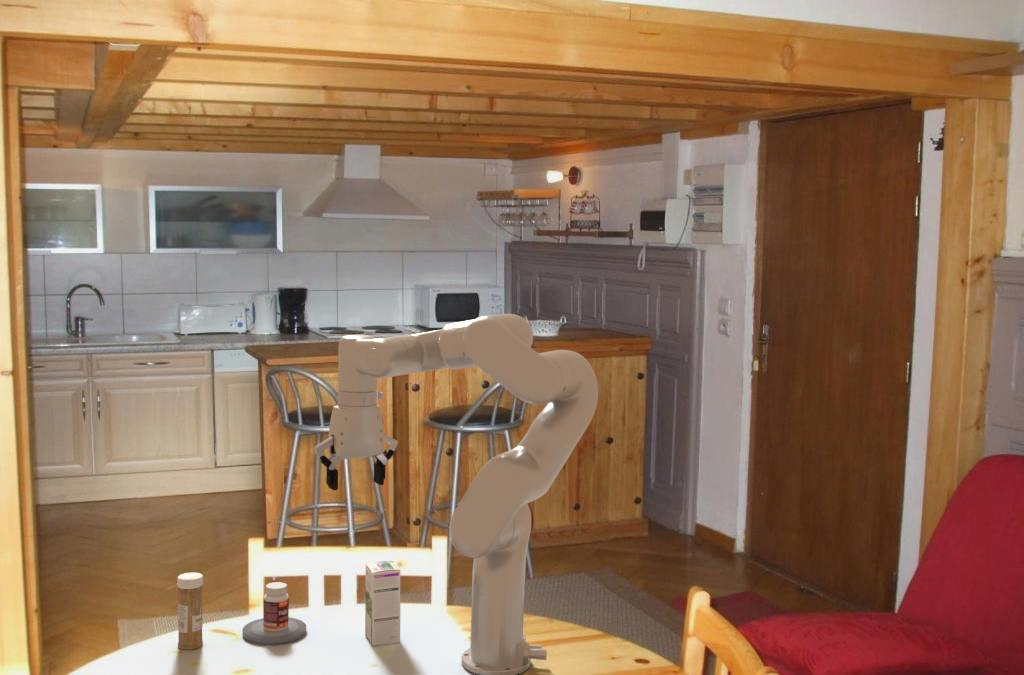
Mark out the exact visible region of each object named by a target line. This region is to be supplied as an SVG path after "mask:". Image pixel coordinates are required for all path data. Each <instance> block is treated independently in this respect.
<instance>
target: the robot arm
mask: <svg viewBox="0 0 1024 675" xmlns="http://www.w3.org/2000/svg"><path fill="white" fill-rule="evenodd" d="M533 341H534V333H533V329H532V327H531V325H530V323H529V322H528V321H527V320H526V319H525V318H524V317H522V316H521V315H518V314H514V313H499V314H490V315H487V314H486V315H483V316H480V317H479V316H478V317H476V318H474V319H467V320H462V321H456V322H451V323H448V324H445V325H444V326H443V327H442V328H441V329H437V330H431V331H427V332H419V333H415V334H407V335H396V336H387V337H378V338H376V337H374V336H373V335H367V334H348V335H343V336H342V337H341V338H340V339H339V342H338V356H337V357H338V359H337V360H338V365H337V367H338V368H337V370H338V371H337V405H333V407H332V411H331V415H330V422H329V429H328V437H327V438H326V439H325V440H322V441H321V442H319V443H318V444H316V445H315V446H313V452H314V454H315V455H316V457H317V460H318V461H319V462H320V463H321V464H322V465H323V466H324V467H325V468H326V481H325V482H326V485H327V487H328V489H331V490H332V491H337V490H338V489H339V470H338V469H336V468H337V467H338V465H339V464H340V463H341V461H342V460H352V459H361V458H363V459H364V458H372V457H373V458H374V459H375V461H374V463H373V482H374V483H376V484H377V485H379V486H383V485H384V482H385V480H386V465H388V463H389V461H390V459H391V458H393V456H394V454H395V451H396V449H397V448H398V444H399V441H398V440H396V439H394V438H393V437H390V436H389V435H386V434H384V424H383V416H382V411H381V406H380V405H379V403H378V402H379V400H380V399H383V398H384V392H383V391H379V389H378V379H388V378H393V377H394V378H395V377H399V376H404V375H411V374H418V373H423V372H428V371H429V372H430V371H435V370H441V369H443V370H444V369H451V370H463V369H467V368H475V367H477V368H479V369H480V370H481V371H483V372H484V373H485V374H486V375H488V376H489V377H490V378H491V379H492V380H494V381H495V382H496V383H498V384H499V385H500V386H502V387H503V388H504V389H506V390H507V391H509V392H510V394H511V395H513V396H514V397H516V398H518V399H519V400H521V401H523V402H524V403H527V404H531V405H534V406H535V405H536V406H537V405H545V404H546V405H545V407H544V408H542V410H541V411H540V413H538V415H537V416H536V417H535V419H534V420H533V421H532V423H531V425H530V426H529V428H528V430H527V432H526V433H525V434H524V436H523V438H522V439H521V441H519V443H518V444H517V445H516V447H513V448H512V449H510V450H508V451H505V452H502V453H500V454H496V455H495V456H494V457H492V458H490V459H488V460H487V462H486V463H485V464H483V466H481V468H480V469H479V471H478V472H477V474H476V475H475V477H474V479H473V480H472V482H471V483H470V485H469V487H468V488H467V490H466V491H465V493H464V495H463V496H462V498H461V499H460V501H459V503H458V505H457V506H456V508H455V510H454V511H453V514H452V516H451V518H450V522H449V528H448V529H449V530H448V531H449V538H450V542H451V543H452V545H453V547H454V548H455V550H456V551H457V552H459V554H461V555H462V556H465V557H467V558H473V562H472V563H473V565H472V578H471V579H472V582H471V612H470V613H471V615H470V616H471V618H470V647H469V648H468V649H467V650H465V651H464V652H463V653H462V655H461V665H462V667H464V668H465V669H466V670H467V671H469V672H471V673H473V674H476V675H519V674H521V673H524V672H525V671H527V670H528V669H529V668H530V667H531V663H532V661H531V660H532V659H533V660H537V661H546V660H547V659H548V658H547V657H548V649H546V648H542V644H530V643H529V642H527V635H524V615H525V614H524V612H525V611H524V610H525V587H526V586H525V583H526V582H525V581H526V564H527V553H528V546H529V541H530V536H531V530H532V529H531V528H532V512H531V510H530V507H529V504H530V503H533V502H534V501H536V500H538V499H539V498H541V497H543V496H544V495H545V494H547V492H548V491H549V489H550V488H551V487H552V485H553V483H554V482H555V480H556V479H557V476H559V473H560V472H561V470H562V469H563V467H564V466H565V464H566V462H567V461H568V459H569V457H570V456H571V455H572V452H573V451H574V449H575V447H576V446H577V444H578V442H580V440H581V438H583V435H584V433H586V431H587V429H588V426H589V425H590V423H591V421H592V419H593V418H594V415H595V412H596V410H597V405H598V401H599V385H598V380H597V376H596V373H595V371H594V369H593V366H592V365H591V364H590V362H589V361H588V360H587V359H586V358H585V357H584V356H583V355H582V354H580V353H579V352H576V351H574V350H568V349H556V350H550V351H545V352H537V351H536V350H534V349H533V348H532V346H533V343H534V342H533ZM385 443H386V444H387V448H386V449H385V450H384V444H385ZM325 450H327V452H328V454H329V456H328V457H327V456H326V454H325Z"/></svg>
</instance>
